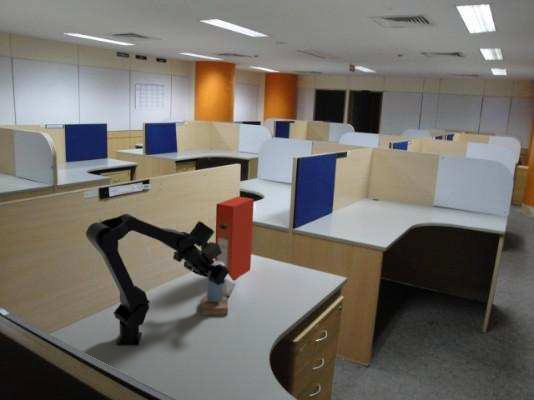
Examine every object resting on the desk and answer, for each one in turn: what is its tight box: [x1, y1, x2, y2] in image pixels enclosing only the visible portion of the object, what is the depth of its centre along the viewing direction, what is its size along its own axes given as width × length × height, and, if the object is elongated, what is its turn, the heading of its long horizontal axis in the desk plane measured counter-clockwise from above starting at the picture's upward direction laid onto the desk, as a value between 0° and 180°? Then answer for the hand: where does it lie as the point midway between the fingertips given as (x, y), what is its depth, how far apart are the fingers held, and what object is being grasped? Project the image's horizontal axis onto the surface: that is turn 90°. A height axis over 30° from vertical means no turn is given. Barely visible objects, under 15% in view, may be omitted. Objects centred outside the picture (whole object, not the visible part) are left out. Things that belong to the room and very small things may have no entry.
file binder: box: [214, 196, 255, 281], centre depth 187 cm, size 8×17×32 cm, turn 154°
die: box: [223, 274, 236, 298], centre depth 169 cm, size 8×9×10 cm
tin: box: [206, 260, 224, 302], centre depth 156 cm, size 6×6×13 cm
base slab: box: [201, 296, 229, 316], centre depth 158 cm, size 9×9×2 cm
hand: (218, 280), depth 157 cm, fingers closed on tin, 5 cm apart
